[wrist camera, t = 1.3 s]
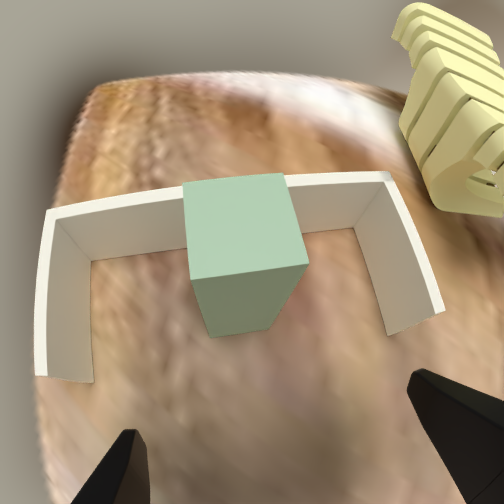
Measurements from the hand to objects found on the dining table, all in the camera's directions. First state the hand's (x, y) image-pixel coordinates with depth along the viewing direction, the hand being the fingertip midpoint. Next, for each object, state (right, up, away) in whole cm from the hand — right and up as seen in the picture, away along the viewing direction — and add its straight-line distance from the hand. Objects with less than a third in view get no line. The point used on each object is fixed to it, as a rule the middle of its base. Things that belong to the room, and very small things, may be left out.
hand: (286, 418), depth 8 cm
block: (-2, +1, +15) cm, 16 cm away
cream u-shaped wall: (-2, +1, +15) cm, 15 cm away
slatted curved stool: (+25, +15, +25) cm, 39 cm away
